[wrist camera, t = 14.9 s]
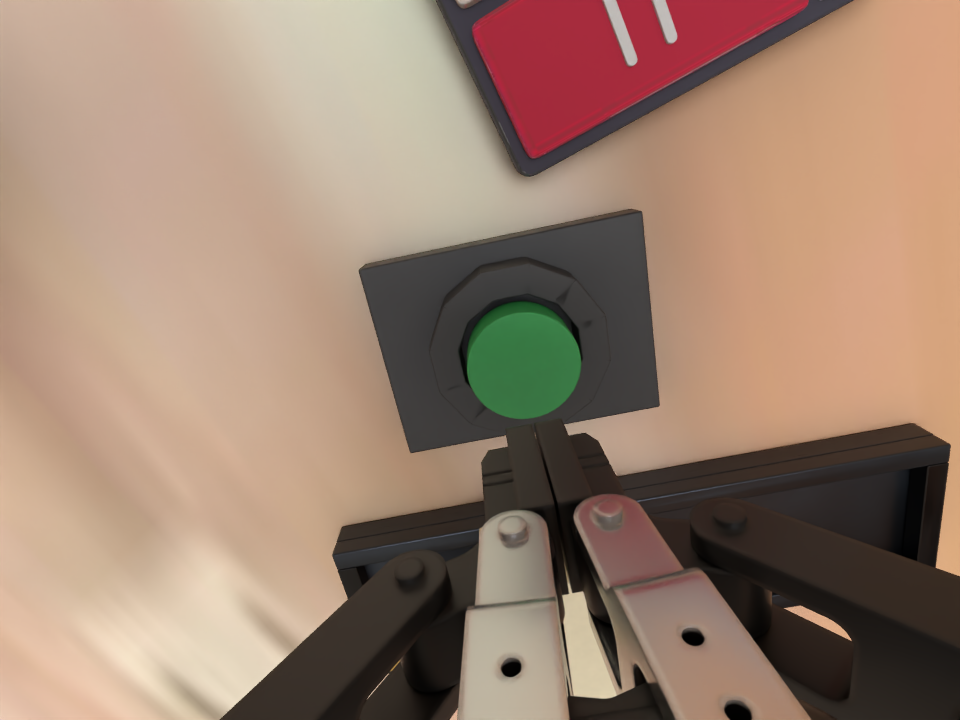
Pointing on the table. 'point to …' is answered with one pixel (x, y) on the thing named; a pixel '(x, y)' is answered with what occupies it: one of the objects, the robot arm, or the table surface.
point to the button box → (509, 278)
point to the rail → (750, 477)
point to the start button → (522, 360)
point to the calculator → (604, 60)
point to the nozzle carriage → (583, 650)
